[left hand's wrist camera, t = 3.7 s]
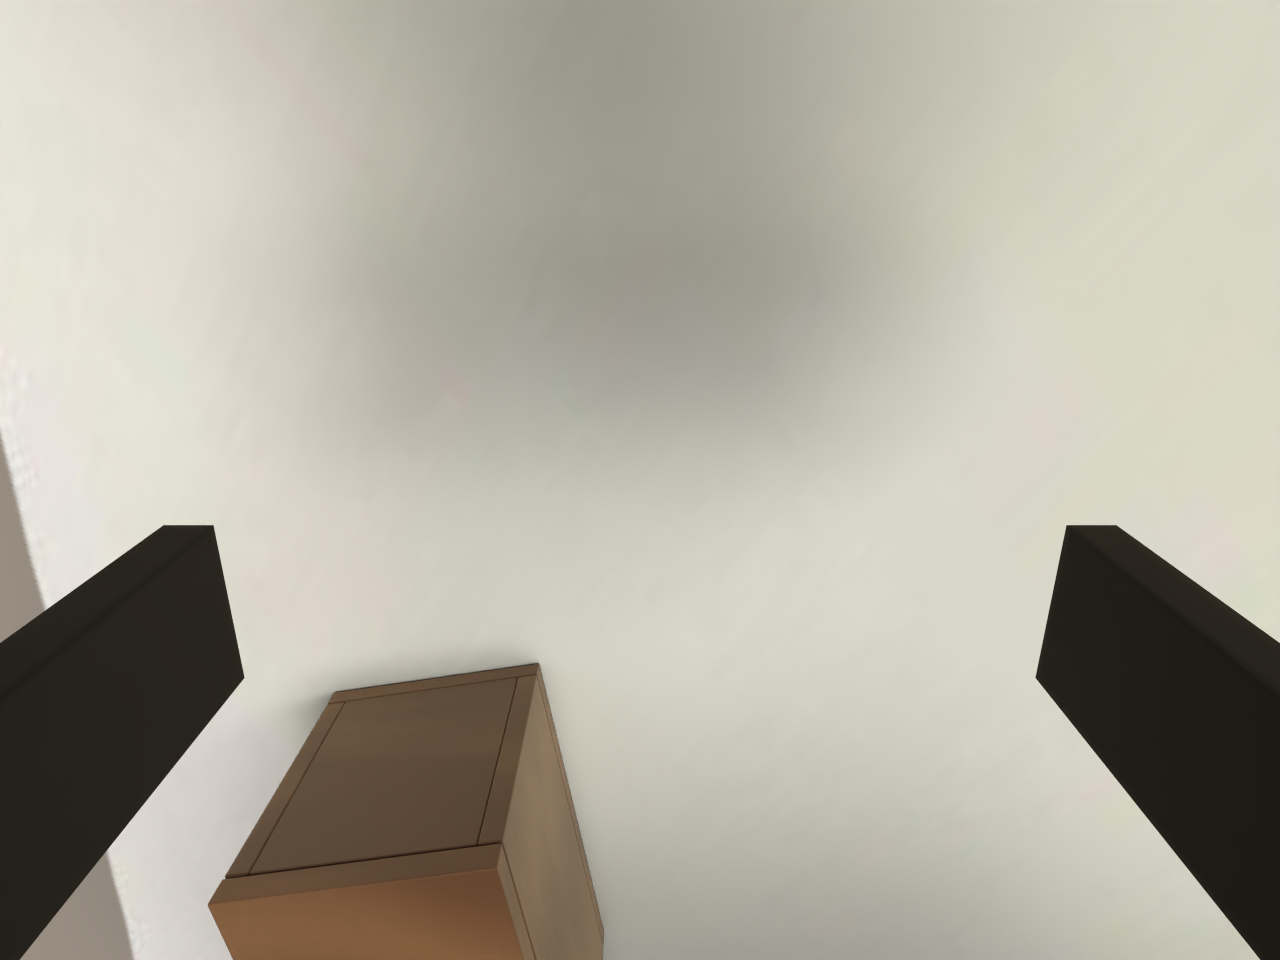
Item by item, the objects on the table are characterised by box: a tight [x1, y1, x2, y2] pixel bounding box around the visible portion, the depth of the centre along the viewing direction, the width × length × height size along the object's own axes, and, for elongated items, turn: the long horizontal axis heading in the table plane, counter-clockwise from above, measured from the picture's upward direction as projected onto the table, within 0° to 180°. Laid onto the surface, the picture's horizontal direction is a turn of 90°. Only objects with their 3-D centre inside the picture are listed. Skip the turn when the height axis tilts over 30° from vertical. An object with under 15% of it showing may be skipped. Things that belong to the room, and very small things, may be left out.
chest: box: [225, 664, 604, 960], centre depth 33 cm, size 16×9×10 cm, turn 9°
